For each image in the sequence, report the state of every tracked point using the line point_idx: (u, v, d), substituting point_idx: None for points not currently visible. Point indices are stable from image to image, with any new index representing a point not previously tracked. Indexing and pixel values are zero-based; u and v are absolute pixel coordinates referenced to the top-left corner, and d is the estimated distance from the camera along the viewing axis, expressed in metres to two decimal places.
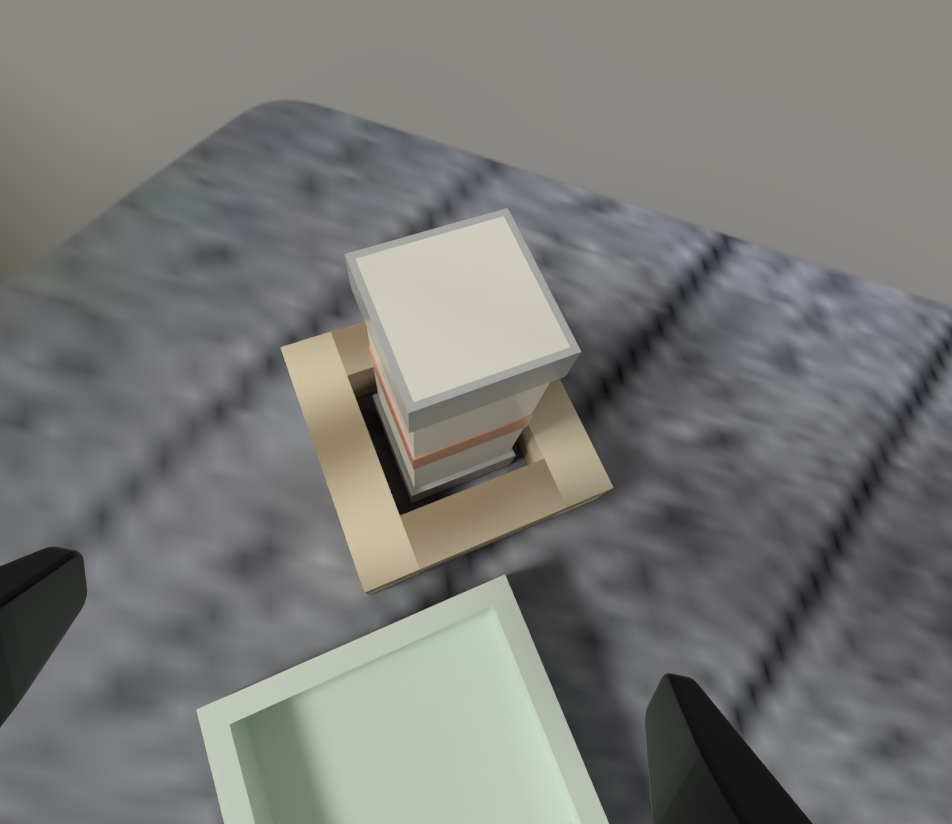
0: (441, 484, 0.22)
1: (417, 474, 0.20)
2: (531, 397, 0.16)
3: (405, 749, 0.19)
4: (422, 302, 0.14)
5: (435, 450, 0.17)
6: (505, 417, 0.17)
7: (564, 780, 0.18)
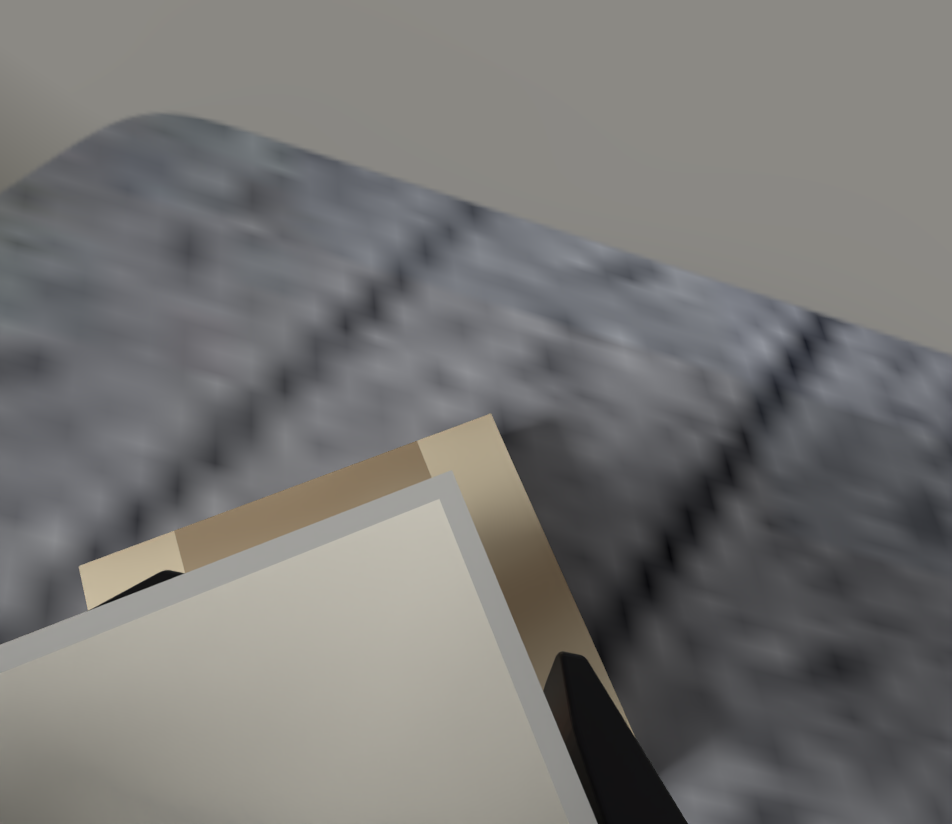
0: None
1: None
2: None
3: None
4: None
5: None
6: None
7: None
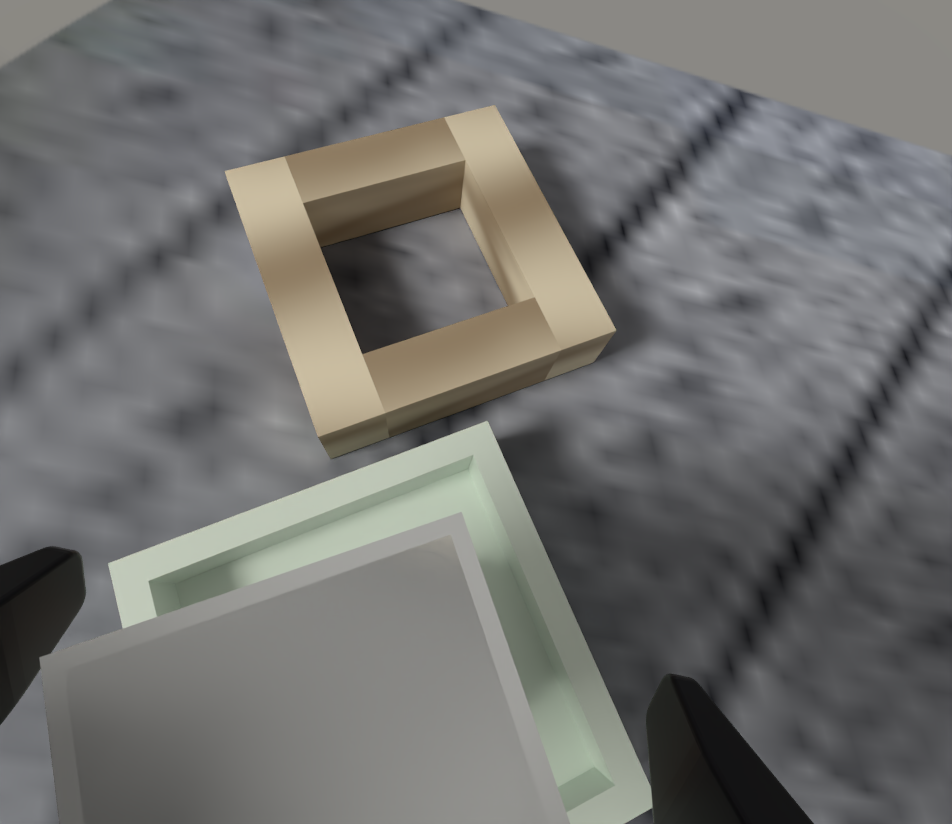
0: None
1: None
2: None
3: None
4: (215, 810, 0.05)
5: None
6: None
7: (558, 651, 0.15)
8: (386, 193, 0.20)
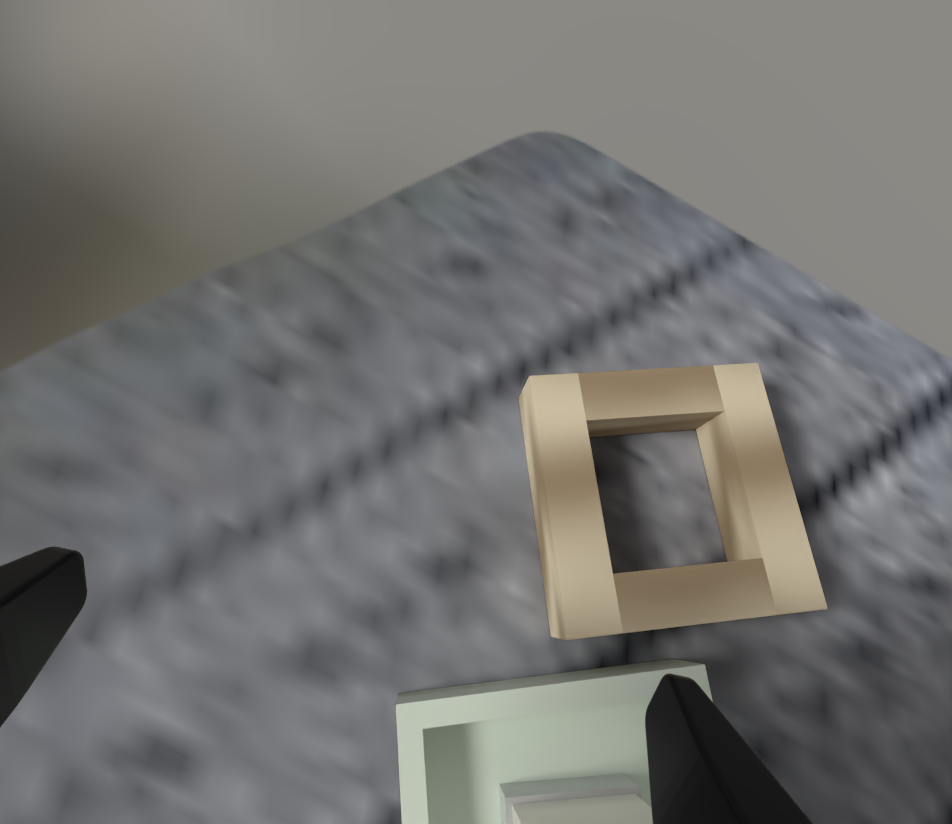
0: None
1: None
2: None
3: None
4: None
5: None
6: None
7: None
8: (649, 420, 0.23)
